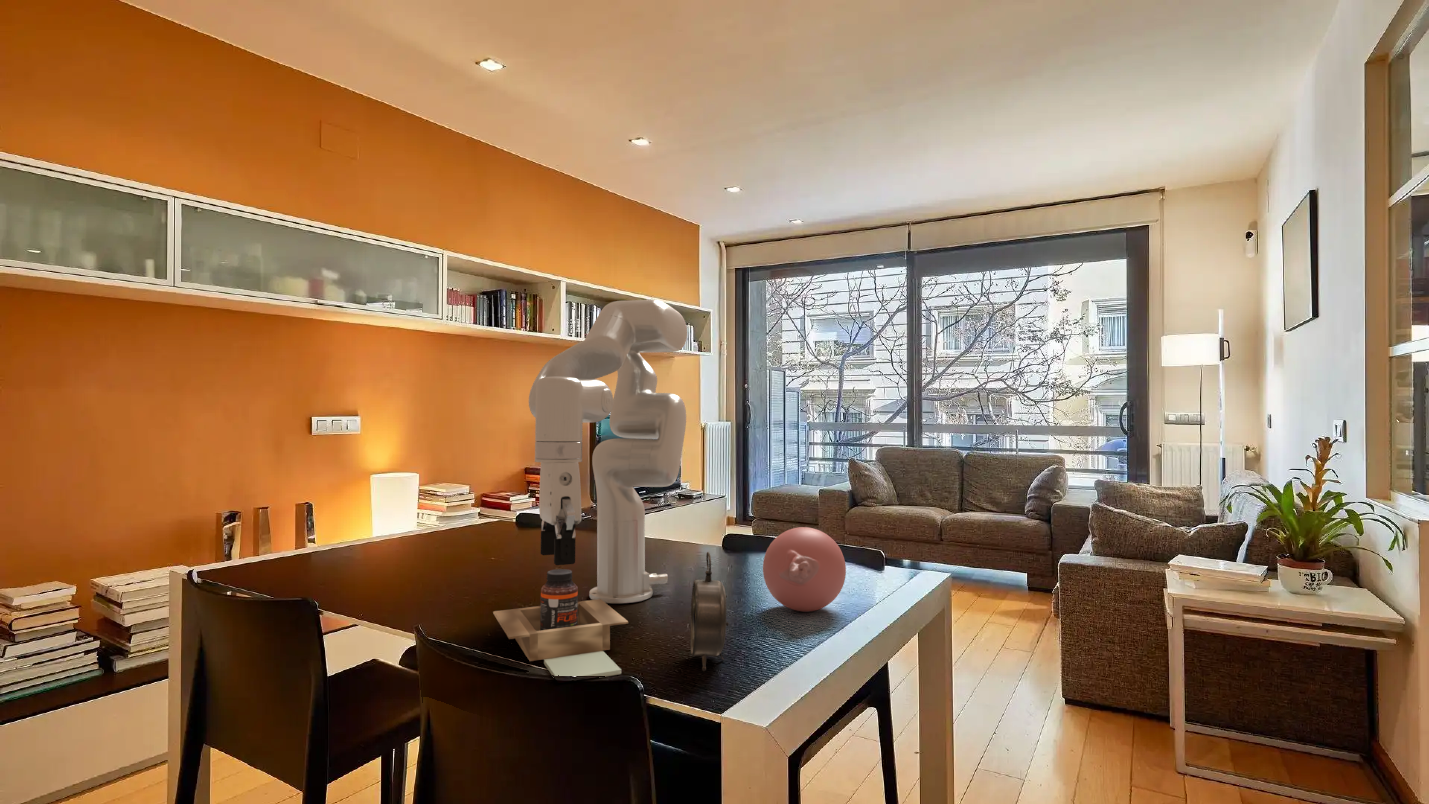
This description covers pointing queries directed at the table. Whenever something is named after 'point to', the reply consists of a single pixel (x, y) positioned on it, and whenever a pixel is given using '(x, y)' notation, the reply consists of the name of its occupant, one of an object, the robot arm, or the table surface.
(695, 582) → the alarm clock
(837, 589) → the salmon rubber sphere
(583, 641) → the carton
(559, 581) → the supplement bottle
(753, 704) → the table surface
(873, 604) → the table surface
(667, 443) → the robot arm
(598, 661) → the coaster
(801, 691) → the table surface
